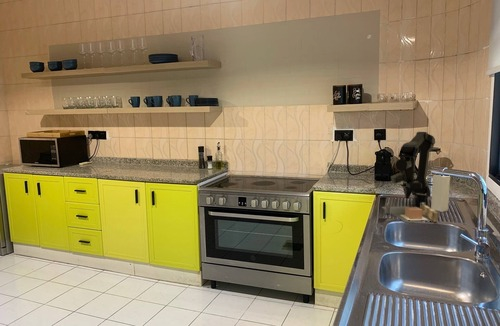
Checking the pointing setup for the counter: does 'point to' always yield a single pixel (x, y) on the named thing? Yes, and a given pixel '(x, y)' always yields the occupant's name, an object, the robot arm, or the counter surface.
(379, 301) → the counter surface
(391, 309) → the counter surface
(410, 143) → the robot arm
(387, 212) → the olive long rounded piece
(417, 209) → the block
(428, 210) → the tan wooden bar
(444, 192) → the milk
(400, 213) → the grey panel
